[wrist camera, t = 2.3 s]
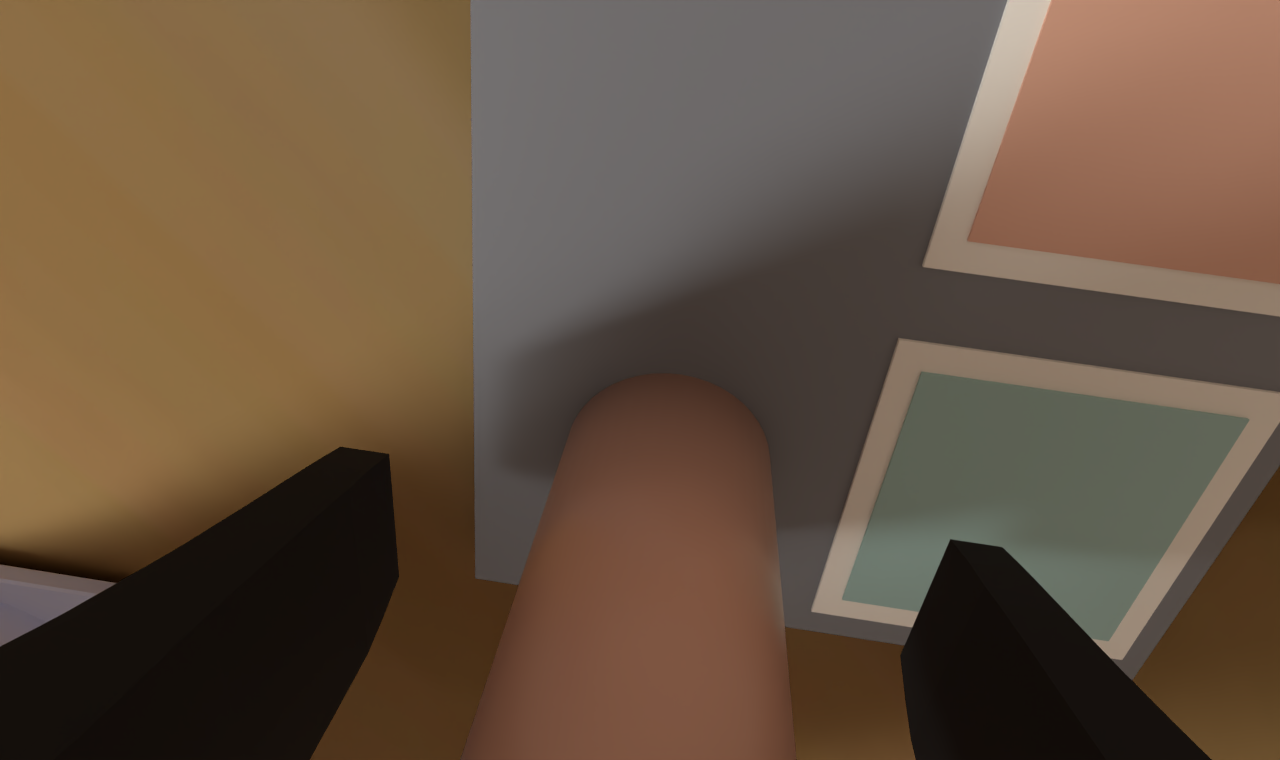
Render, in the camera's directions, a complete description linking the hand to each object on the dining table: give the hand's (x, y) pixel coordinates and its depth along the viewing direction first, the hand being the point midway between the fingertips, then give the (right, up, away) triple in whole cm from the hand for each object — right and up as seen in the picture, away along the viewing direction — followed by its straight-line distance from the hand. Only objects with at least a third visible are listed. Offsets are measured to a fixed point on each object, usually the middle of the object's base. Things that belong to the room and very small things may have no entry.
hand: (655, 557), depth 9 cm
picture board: (+3, +4, +1) cm, 5 cm away
